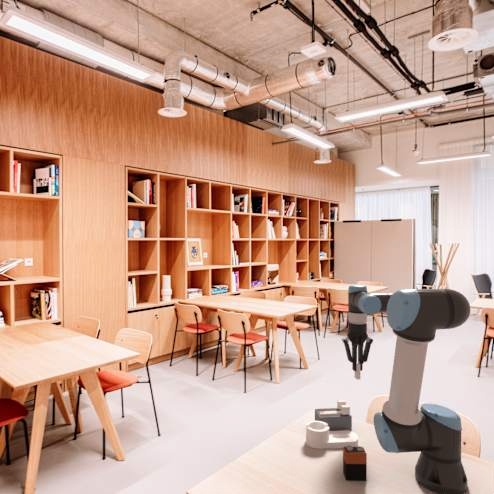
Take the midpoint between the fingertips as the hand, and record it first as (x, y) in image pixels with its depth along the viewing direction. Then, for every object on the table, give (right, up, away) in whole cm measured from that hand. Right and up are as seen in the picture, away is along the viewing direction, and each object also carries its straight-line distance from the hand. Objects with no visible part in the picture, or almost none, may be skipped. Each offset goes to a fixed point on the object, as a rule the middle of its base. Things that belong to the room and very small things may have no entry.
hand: (357, 378), depth 162 cm
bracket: (-14, -21, -13) cm, 28 cm away
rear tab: (-7, -12, 0) cm, 14 cm away
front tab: (-6, -12, -5) cm, 15 cm away
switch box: (-11, -20, -3) cm, 23 cm away
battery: (-11, -21, -35) cm, 42 cm away
